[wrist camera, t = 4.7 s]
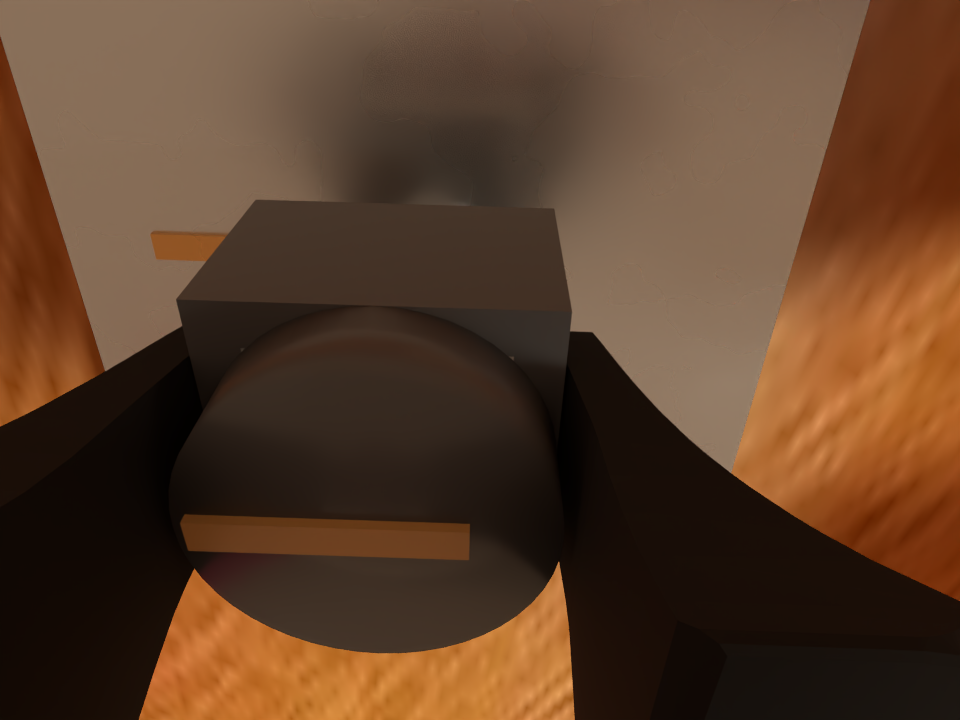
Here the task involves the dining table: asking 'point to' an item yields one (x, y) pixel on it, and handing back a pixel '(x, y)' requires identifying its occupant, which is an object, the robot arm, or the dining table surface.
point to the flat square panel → (455, 150)
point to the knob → (376, 419)
